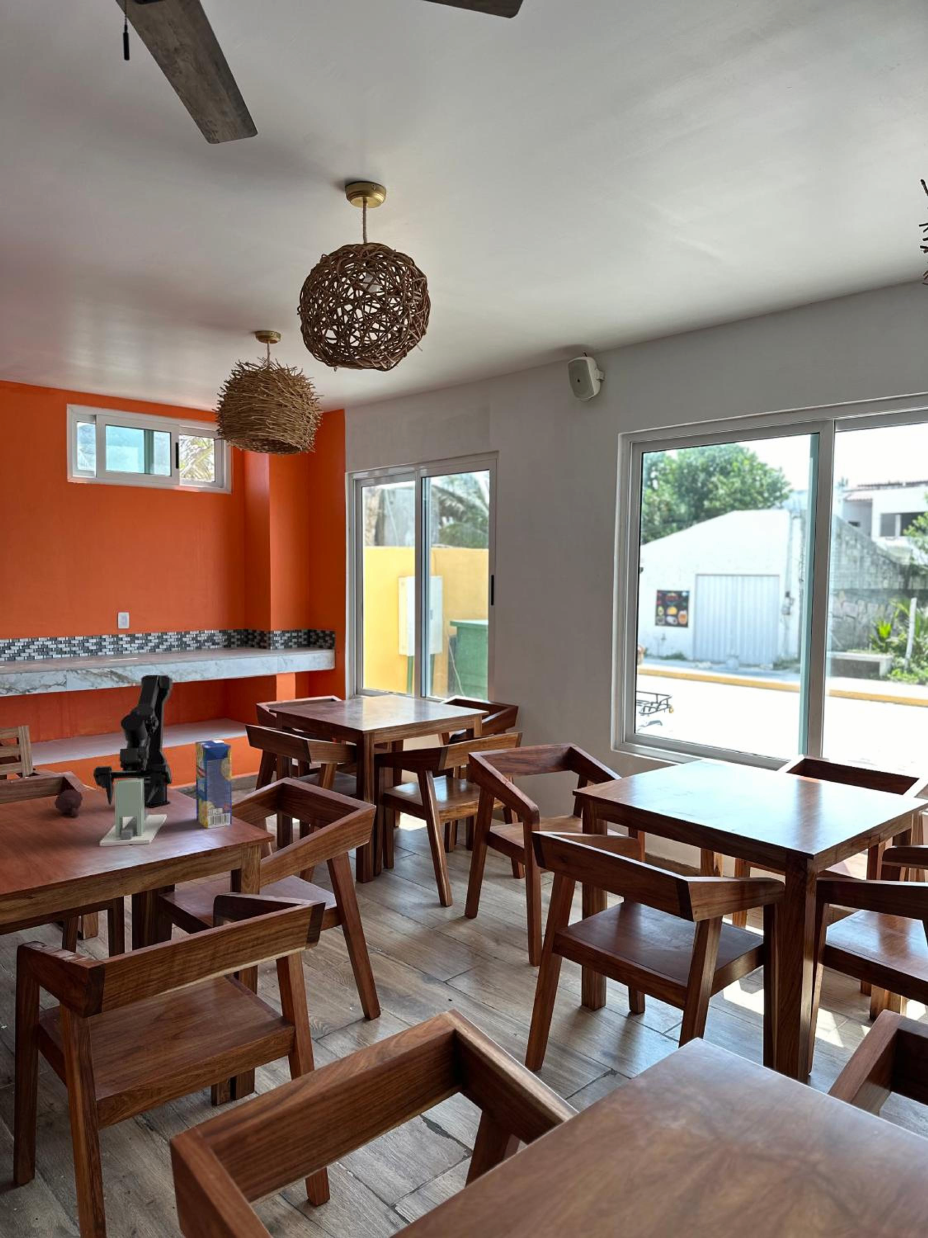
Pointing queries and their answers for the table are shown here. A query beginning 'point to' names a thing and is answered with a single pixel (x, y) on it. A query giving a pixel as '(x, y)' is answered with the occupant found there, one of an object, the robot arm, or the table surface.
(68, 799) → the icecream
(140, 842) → the rail
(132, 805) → the clip
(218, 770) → the beverage box
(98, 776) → the robot arm
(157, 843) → the table surface
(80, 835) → the table surface
